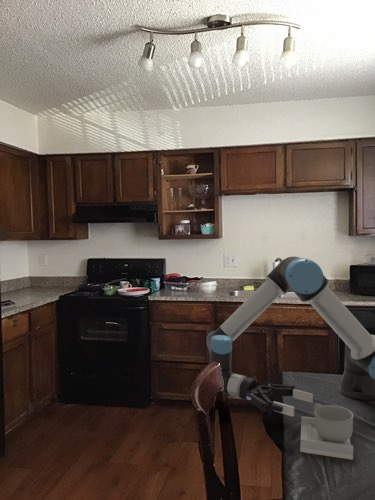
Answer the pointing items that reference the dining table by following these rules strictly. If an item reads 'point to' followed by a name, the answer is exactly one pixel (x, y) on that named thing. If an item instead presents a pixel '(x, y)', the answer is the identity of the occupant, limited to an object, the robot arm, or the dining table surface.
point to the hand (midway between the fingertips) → (303, 404)
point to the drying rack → (321, 442)
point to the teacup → (333, 423)
